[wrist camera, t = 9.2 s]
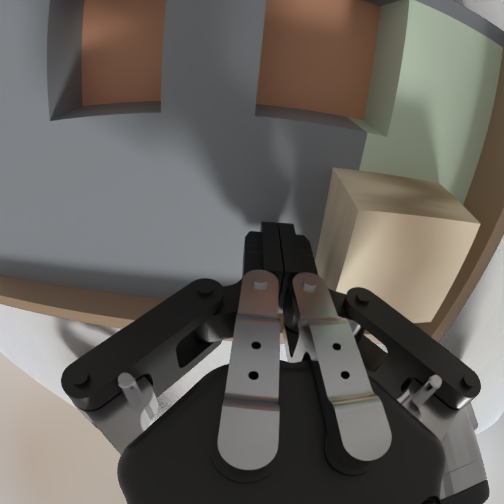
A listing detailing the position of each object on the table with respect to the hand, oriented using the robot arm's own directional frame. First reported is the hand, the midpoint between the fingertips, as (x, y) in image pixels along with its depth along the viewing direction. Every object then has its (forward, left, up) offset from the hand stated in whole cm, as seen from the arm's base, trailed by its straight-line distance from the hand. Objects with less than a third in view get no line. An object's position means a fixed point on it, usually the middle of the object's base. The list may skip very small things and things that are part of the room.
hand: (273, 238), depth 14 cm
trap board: (+4, -3, -5) cm, 7 cm away
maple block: (-5, -1, -1) cm, 5 cm away
